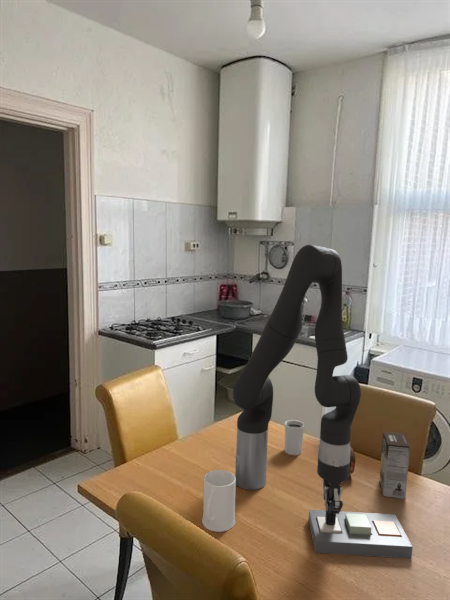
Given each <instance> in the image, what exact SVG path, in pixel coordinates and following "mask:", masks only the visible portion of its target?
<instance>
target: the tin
mask: <svg viewBox="0 0 450 600" xmlns="http://www.w3.org/2000/svg"><path fill="white" fill-rule="evenodd" d="M350 448H351V453H350V470H349V475H351V474H353V473H354V472H355V467H356V453H355V451H354V448H352V447H351V445H350Z"/></svg>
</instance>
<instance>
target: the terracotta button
mask: <svg viewBox="0 0 450 600" xmlns="http://www.w3.org/2000/svg"><path fill="white" fill-rule="evenodd" d="M373 524H374V527H375V529H376V531H377V533H378V536H394V537H401V534H400V533H399V531H398V529H397V527H396V525H395V523H394V522H392V521H374V520H373Z"/></svg>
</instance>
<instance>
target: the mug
mask: <svg viewBox="0 0 450 600" xmlns="http://www.w3.org/2000/svg"><path fill="white" fill-rule="evenodd" d="M236 487H237V486H236V477H235V473H234V472H233V473H232V471H228V470H224V469H215V470H211V471H208V472H207V473H206V474H205V475H204V477H203V509H202V510H203V511H202V512H203V513H202V514H203V515H202V518H201V519H202V521H201V522H202V525H203V526H204V528H205V529H207V530H208V531H212V532H215V533H216V532H217V533H222V532H226V531H230V530H231V529H232V528H234V526H235V524H236V517H235V515H236V514H235V513H236Z"/></svg>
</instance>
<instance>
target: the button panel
mask: <svg viewBox="0 0 450 600" xmlns="http://www.w3.org/2000/svg"><path fill="white" fill-rule="evenodd" d="M346 513H348V514H366V516H367V518H368V521H369V523H370V525H371V535H359V534H349V533H348V530H347V527H346V524H345V515H346ZM325 514H326V509H325V510H323V509H322V510H321V509H308V524H309V529H310V533H311V537H312V542H313V543H312V544H313V547H314V550H315V553H317V554H329V555H331V554H333V555H347V556H349V555H350V556H363V557H364V556H365V557H382V558H395V559H396V558H397V559H412V558H413V557H412V556H413V545H412V543H411V541H410V539H409V537H408V536H407V534H406V532H405V530H404V528H403V526H402V524H401V523H400V521H399V519H398V517H397V516H396V514H395V513H393V514H392V513H375V512H357V511H340V513H339V514H336V518H337V519H338V522H339V525H340V528H341V533H325V532H319V529H318V525H317V517H325ZM373 520H374V521H392V522H394V523H395V525H396V527H397V529H398V531H399V533H400V534H401V537H394V536H378V533H377V531H376V529H375V527H374V524H373Z"/></svg>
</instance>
